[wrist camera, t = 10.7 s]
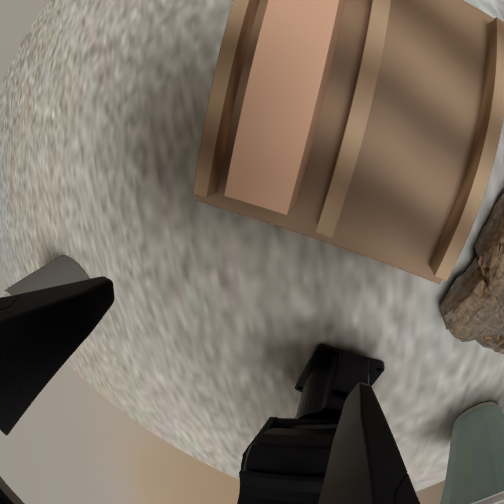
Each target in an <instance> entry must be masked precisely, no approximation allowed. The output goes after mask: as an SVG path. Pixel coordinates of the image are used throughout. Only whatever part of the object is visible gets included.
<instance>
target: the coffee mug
mask: <svg viewBox="0 0 504 504" xmlns="http://www.w3.org/2000/svg"><path fill="white" fill-rule="evenodd" d="M88 279H90V278H89V277H88V275H87V274H86V272H85V271H84V270H83V269H82V267H81V266H80V265H79V264H78V263H77V262H76V261H74V260H73V259H72V258H70V257H67V256H61V257H59V258H57V259H55V260H54V261H52V262H50V263H48V264H47V265H45V266H43V267H42V268H40V269H38V270H36V271H35V272H33V273H31V274H30V275H28V276H27V277H25V278H23V279H22V280H20V281H18V282H17V283H15V284H14V285H12V286H11V287H9V288H8V289H6V290H5V291H4V292H3V297H7V296H12V295H17V294H22V293H26V292H31V291H35V290H40V289H45V288H50V287H54V286H59V285H64V284H69V283H73V282H78V281H83V280H88Z"/></svg>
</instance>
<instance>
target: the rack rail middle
mask: <svg viewBox="0 0 504 504" xmlns="http://www.w3.org/2000/svg"><path fill="white" fill-rule="evenodd" d="M390 2H391V0H373V2H372V8H371V14H370V20H369V26H368V31H367V37H366V42H365V47H364V52H363V57H362V62H361V66H360V71H359V75H358V80H357V84H356V89H355V93H354V97H353V102H352V106H351V110H350V114H349V118H348V122H347V126H346V130H345V133H344V137H343V141H342V145H341V148H340V152H339V156H338V159H337V163H336V167H335V170H334V174H333V177H332V180H331V184H330V187H329V191H328V194H327V197H326V201H325V204H324V207H323V210H322V214H321V217H320V220H319V223H318V226H317V229H316V232H317V233H320V234H323V235H326V236H328V237H331V238H332V236H333V233H334V231H335V228H336V225H337V222H338V219H339V216H340V213H341V210H342V207H343V204H344V200H345V197H346V194H347V191H348V188H349V184H350V181H351V178H352V175H353V171H354V168H355V164H356V161H357V157H358V154H359V150H360V147H361V143H362V139H363V136H364V132H365V128H366V124H367V120H368V116H369V112H370V108H371V104H372V100H373V96H374V91H375V87H376V82H377V78H378V73H379V68H380V63H381V58H382V53H383V47H384V42H385V36H386V30H387V24H388V17H389V10H390Z"/></svg>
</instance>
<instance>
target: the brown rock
mask: <svg viewBox="0 0 504 504" xmlns="http://www.w3.org/2000/svg"><path fill="white" fill-rule="evenodd" d="M474 247H475V249H476V253H477V255H478V256H477V257H476V258H475V259H474V260H473V262H472V264H471V265H470V266H469V267H468V269H467V270H466V272H465V273H463V274H461V275H460V276H458V277H457V279H456V280H455V281H454V283H453V284H452V286H451V288H450V290H449V292H448V294H447V295H446V297H445V298H444V300H443V302H442V303H441V305H440V312H441V314H442V316H443V320H444V323H445V326H446V329H449V331H450V332H451V334H452V335H453V336H454V337H456V338H458V339H460V340H461V341H462V342H465V341H471V340H476V341H478V342H479V343H480V344H481V345H482V346H483V347H487V348H491V349H493V350H494V351H495V352H499V353H502V354H504V193H503V194H502V195H501V197H500V198H499V200H498V201H497V203H496V205H495V206H494V208H493V210H492V213H491V215H490V217H489V219H488V221H487V223H486V224H485V226H484V227H483V228H482V230H481V233H480V235H479V238H478V240H477V242H476V244H475V245H474Z"/></svg>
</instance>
